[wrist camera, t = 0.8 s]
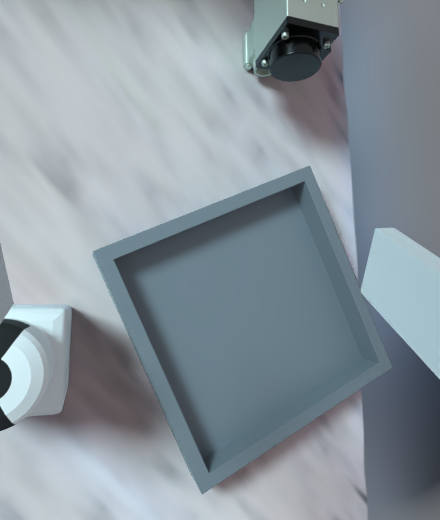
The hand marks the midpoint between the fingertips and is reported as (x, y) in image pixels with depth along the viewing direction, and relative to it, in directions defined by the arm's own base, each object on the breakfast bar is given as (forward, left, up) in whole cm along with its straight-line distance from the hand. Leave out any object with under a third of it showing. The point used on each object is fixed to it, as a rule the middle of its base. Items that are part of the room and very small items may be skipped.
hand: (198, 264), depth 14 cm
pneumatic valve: (-17, +22, -23) cm, 35 cm away
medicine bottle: (+1, -10, -23) cm, 25 cm away
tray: (+7, +9, -22) cm, 25 cm away
